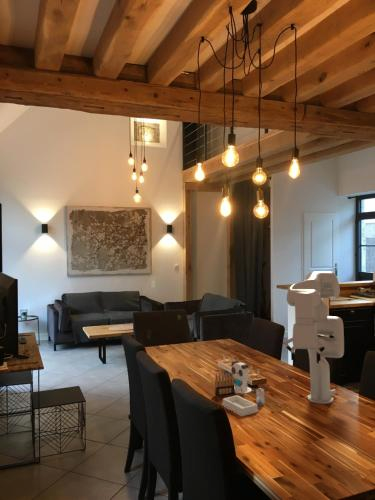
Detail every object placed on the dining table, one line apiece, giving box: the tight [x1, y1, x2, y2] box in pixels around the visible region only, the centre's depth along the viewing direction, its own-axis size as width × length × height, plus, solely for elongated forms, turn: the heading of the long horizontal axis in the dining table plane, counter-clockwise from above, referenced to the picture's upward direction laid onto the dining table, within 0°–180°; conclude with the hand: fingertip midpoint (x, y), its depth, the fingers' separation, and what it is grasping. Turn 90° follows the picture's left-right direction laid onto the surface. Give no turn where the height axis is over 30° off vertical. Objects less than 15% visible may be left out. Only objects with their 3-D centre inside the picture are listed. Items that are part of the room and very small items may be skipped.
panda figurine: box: [230, 360, 253, 395], centre depth 236 cm, size 12×11×15 cm
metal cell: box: [255, 387, 266, 407], centre depth 213 cm, size 4×4×8 cm
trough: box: [221, 394, 259, 417], centre depth 208 cm, size 10×16×4 cm, turn 30°
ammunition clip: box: [214, 371, 236, 397], centre depth 228 cm, size 11×2×12 cm, turn 104°
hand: (305, 362), depth 179 cm, fingers open, 9 cm apart
